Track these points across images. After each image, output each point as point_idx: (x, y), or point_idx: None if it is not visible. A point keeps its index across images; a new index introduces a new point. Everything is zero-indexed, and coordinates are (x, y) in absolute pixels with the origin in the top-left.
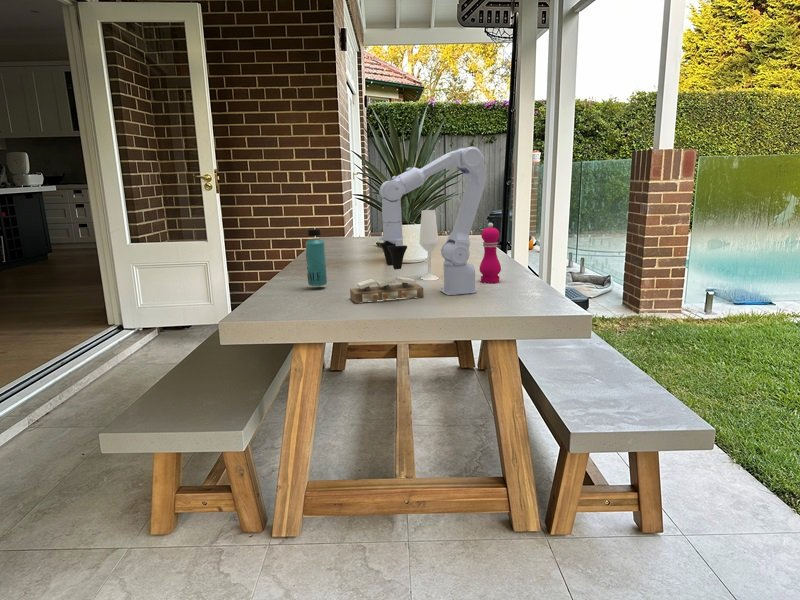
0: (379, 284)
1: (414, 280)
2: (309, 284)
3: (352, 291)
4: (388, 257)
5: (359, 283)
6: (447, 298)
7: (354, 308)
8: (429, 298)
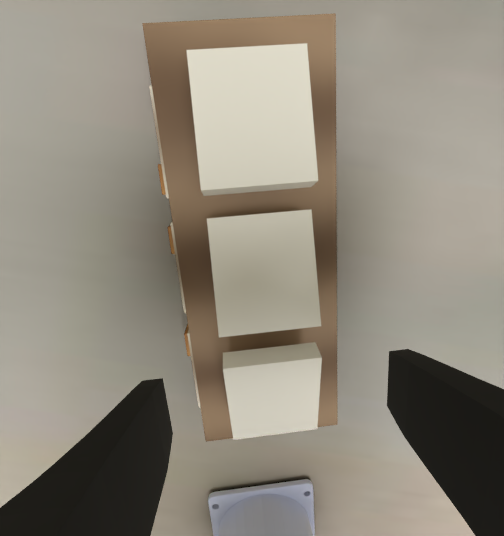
0: (208, 218)
1: (246, 436)
2: None
3: (240, 19)
4: (453, 419)
5: (265, 60)
6: (167, 481)
7: (47, 32)
8: (186, 423)
